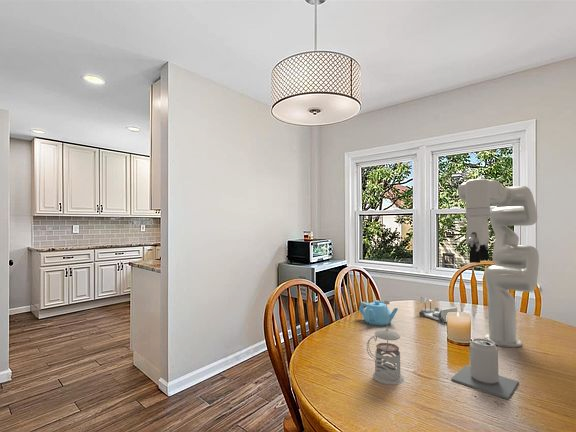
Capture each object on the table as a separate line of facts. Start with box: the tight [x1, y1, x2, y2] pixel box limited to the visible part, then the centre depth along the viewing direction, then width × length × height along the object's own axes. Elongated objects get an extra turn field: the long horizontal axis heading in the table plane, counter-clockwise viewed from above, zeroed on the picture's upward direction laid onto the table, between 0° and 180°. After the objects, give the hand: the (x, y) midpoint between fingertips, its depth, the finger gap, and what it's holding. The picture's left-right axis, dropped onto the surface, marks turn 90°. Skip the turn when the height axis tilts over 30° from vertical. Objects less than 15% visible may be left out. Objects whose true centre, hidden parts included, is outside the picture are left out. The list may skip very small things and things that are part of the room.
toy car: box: [418, 296, 458, 324], centre depth 162 cm, size 18×10×12 cm
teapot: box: [358, 299, 399, 327], centre depth 156 cm, size 15×15×11 cm
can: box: [469, 337, 500, 384], centre depth 97 cm, size 8×8×12 cm
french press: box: [366, 299, 405, 386], centre depth 101 cm, size 10×12×25 cm
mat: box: [451, 365, 519, 401], centre depth 97 cm, size 13×15×1 cm
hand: (479, 261), depth 110 cm, fingers open, 9 cm apart
